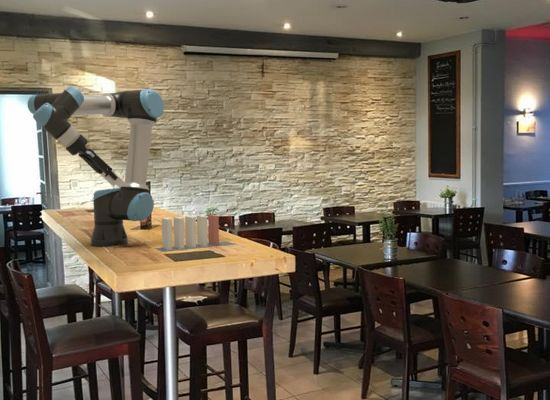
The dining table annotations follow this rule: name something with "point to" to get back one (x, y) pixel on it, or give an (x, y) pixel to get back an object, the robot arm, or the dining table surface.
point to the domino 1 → (167, 233)
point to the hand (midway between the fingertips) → (118, 184)
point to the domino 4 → (202, 231)
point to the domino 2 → (179, 232)
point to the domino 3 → (190, 231)
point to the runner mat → (196, 246)
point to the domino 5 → (213, 229)
